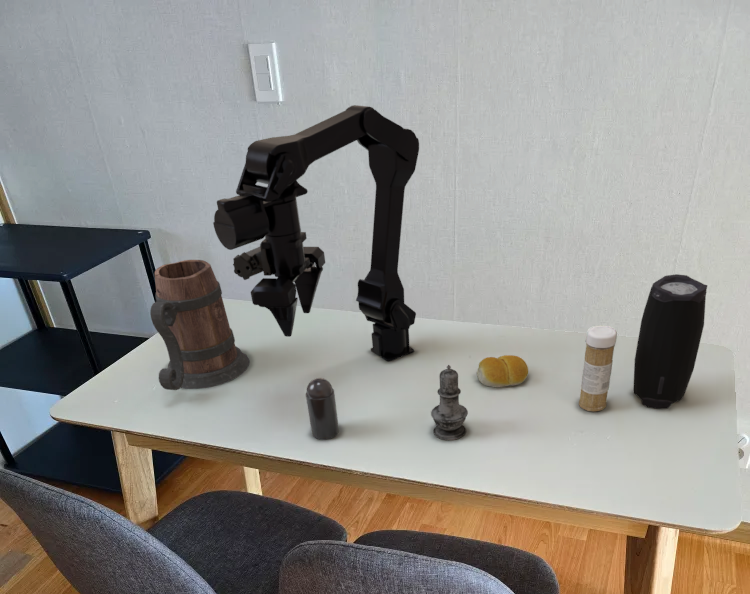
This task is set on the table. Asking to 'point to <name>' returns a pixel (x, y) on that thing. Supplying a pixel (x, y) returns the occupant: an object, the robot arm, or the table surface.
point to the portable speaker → (669, 340)
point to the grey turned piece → (449, 408)
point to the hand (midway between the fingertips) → (297, 324)
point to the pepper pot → (322, 409)
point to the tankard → (194, 327)
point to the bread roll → (502, 371)
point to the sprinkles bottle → (597, 367)
